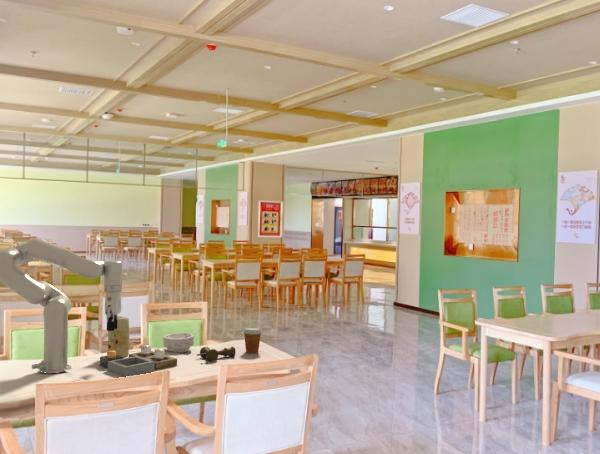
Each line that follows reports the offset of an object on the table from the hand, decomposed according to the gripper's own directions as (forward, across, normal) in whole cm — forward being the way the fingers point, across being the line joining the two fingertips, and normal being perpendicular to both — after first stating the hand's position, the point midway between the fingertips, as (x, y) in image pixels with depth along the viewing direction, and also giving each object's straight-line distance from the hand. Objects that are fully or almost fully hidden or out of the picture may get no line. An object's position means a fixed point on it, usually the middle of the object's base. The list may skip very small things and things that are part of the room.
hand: (112, 329), depth 243 cm
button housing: (+17, 0, 0) cm, 17 cm away
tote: (+17, -8, -11) cm, 22 cm away
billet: (+16, +2, -21) cm, 26 cm away
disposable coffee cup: (+17, +33, -62) cm, 72 cm away
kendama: (+18, +19, -44) cm, 51 cm away
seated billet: (+16, +10, -13) cm, 23 cm away
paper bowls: (+17, +34, -24) cm, 45 cm away
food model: (+17, +17, +1) cm, 24 cm away
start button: (+14, 0, 0) cm, 14 cm away
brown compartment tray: (+17, +6, -17) cm, 25 cm away
